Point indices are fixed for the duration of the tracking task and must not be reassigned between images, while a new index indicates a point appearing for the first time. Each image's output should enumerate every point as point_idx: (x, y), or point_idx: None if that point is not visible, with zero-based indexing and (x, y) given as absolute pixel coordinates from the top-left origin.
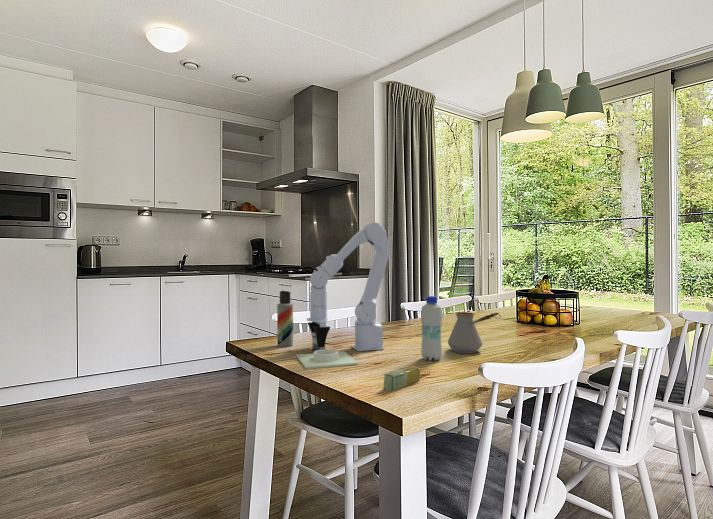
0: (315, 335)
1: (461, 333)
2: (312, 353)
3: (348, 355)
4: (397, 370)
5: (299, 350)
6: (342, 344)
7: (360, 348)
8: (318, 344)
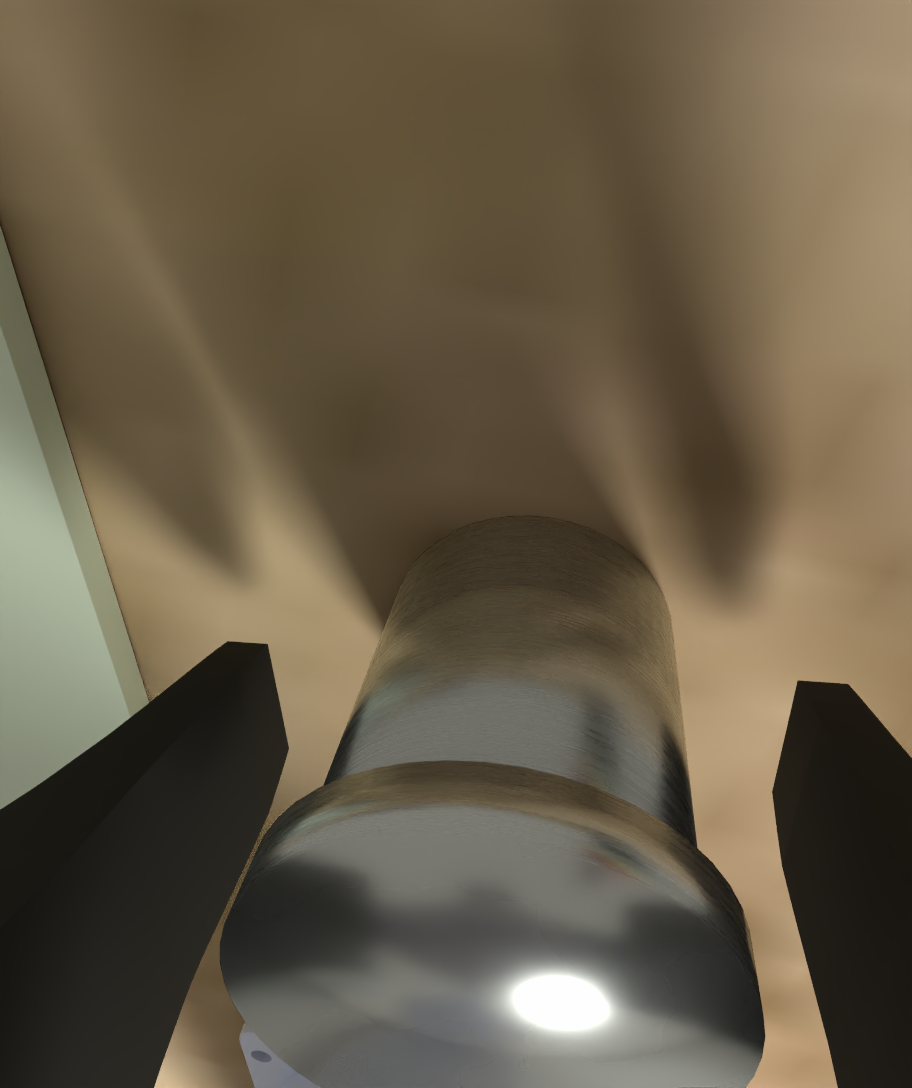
0: (264, 846)
1: None
2: (29, 425)
3: None
4: None
5: (658, 192)
6: (814, 1040)
7: (299, 1076)
8: (182, 686)
